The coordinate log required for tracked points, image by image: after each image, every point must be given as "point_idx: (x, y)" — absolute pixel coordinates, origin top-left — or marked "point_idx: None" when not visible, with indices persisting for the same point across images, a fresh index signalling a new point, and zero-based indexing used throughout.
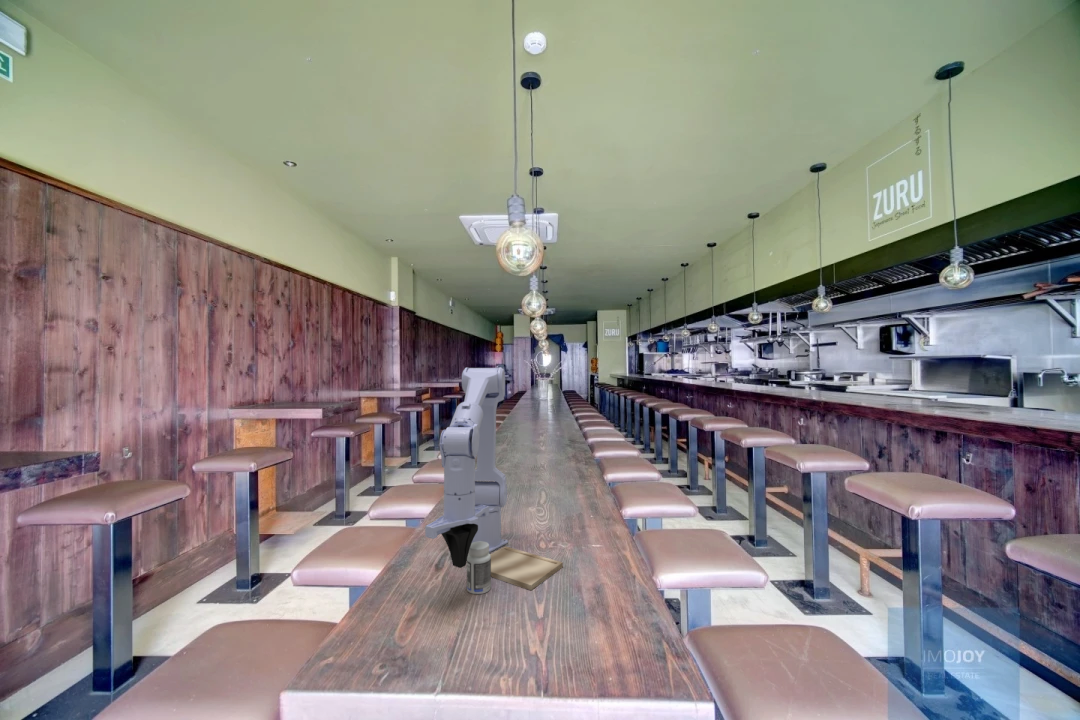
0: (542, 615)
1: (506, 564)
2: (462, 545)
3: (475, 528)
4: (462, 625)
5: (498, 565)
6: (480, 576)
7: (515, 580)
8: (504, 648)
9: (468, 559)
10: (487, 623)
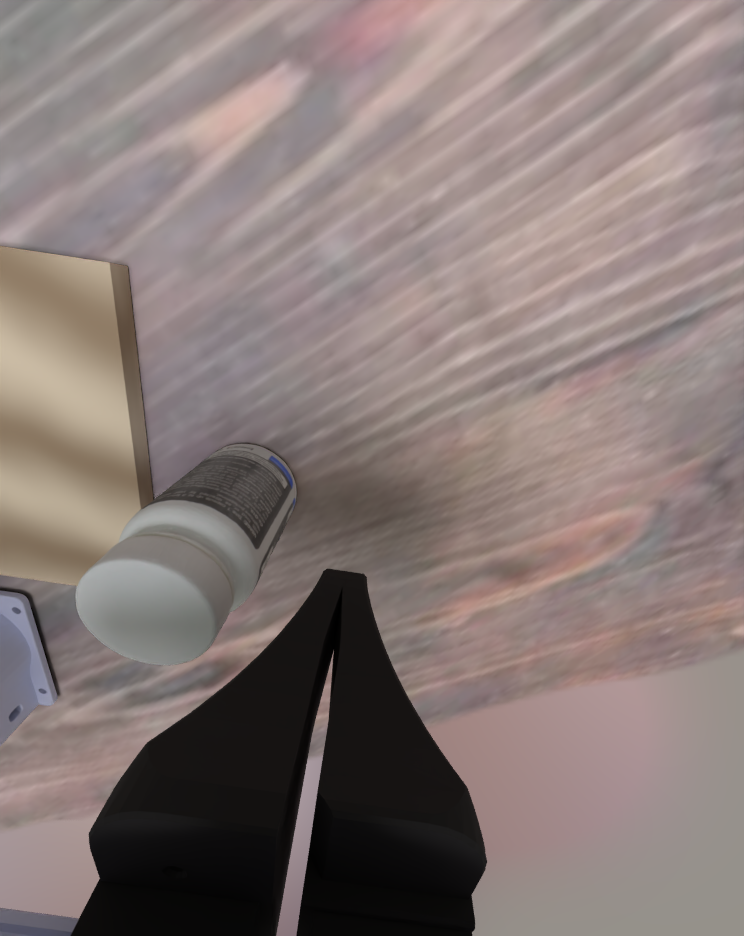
0: (278, 70)
1: (45, 478)
2: (377, 686)
3: (190, 797)
4: (493, 399)
5: (77, 504)
6: (259, 489)
7: (123, 367)
8: (593, 118)
9: (249, 592)
10: (447, 313)
